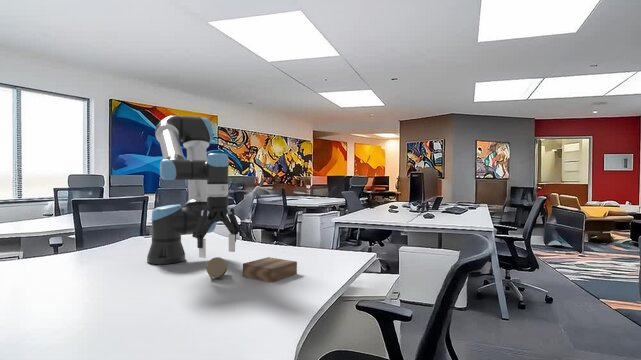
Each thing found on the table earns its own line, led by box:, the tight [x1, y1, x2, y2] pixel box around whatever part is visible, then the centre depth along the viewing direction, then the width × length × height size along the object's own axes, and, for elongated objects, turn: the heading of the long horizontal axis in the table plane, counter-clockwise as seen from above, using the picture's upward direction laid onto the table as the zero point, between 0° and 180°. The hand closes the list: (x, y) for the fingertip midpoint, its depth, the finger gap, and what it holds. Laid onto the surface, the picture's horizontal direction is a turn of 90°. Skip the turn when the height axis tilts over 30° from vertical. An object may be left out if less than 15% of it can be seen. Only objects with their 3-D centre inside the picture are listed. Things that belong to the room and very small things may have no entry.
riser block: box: [242, 256, 298, 283], centre depth 144 cm, size 14×14×5 cm
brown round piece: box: [205, 256, 228, 279], centre depth 140 cm, size 8×10×10 cm
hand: (217, 254), depth 142 cm, fingers open, 13 cm apart
